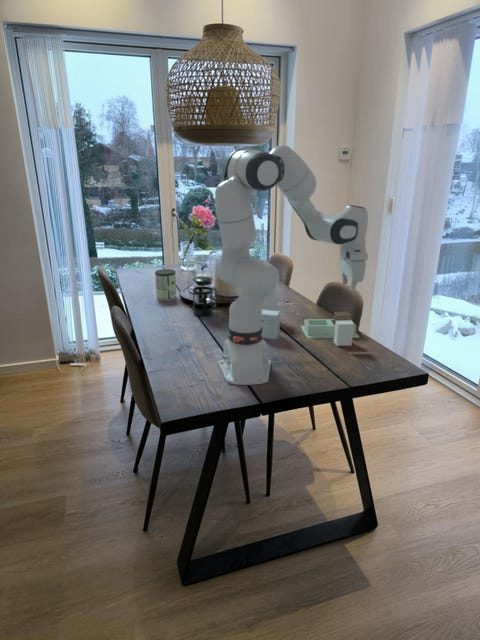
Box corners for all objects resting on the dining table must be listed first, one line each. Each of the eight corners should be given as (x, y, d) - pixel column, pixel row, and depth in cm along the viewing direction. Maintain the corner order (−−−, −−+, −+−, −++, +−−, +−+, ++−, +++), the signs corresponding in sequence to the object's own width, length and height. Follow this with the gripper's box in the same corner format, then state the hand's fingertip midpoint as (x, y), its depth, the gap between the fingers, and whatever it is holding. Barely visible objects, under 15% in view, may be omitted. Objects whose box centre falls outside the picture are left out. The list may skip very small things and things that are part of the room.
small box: (279, 334, 183) (280, 311, 179) (276, 339, 178) (277, 315, 174) (260, 332, 185) (261, 309, 181) (257, 337, 180) (258, 313, 176)
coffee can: (160, 294, 234) (158, 268, 229) (178, 295, 233) (177, 269, 228) (153, 300, 225) (152, 273, 220) (173, 301, 223) (172, 274, 218)
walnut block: (349, 332, 183) (351, 315, 180) (335, 333, 183) (336, 315, 180) (346, 329, 187) (348, 311, 184) (332, 329, 187) (334, 311, 184)
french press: (194, 317, 201) (193, 268, 193) (189, 311, 209) (188, 264, 201) (218, 315, 204) (218, 267, 196) (213, 309, 213) (213, 262, 205)
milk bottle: (275, 324, 194) (277, 281, 187) (258, 323, 195) (259, 279, 189) (277, 318, 201) (279, 276, 194) (260, 317, 203) (262, 275, 196)
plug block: (351, 347, 171) (353, 324, 168) (336, 348, 171) (338, 324, 167) (348, 343, 175) (350, 320, 172) (333, 344, 175) (335, 320, 171)
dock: (359, 339, 179) (361, 327, 177) (306, 340, 178) (307, 328, 176) (349, 327, 192) (350, 315, 190) (300, 327, 191) (300, 316, 189)
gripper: (335, 245, 169) (332, 280, 174) (352, 256, 150) (348, 295, 155) (351, 245, 170) (348, 279, 174) (370, 256, 151) (365, 295, 155)
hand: (348, 287), depth 165 cm, fingers open, 8 cm apart
